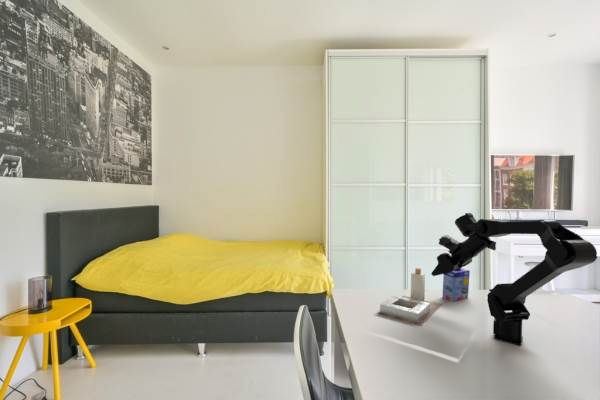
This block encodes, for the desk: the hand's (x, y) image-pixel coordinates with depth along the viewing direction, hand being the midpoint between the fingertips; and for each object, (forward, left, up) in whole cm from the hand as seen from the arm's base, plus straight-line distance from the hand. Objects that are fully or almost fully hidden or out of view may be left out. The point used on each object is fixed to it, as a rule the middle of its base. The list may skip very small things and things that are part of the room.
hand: (437, 272), depth 112 cm
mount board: (+7, +7, -14) cm, 17 cm away
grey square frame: (+7, +12, -13) cm, 19 cm away
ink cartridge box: (-3, -17, -14) cm, 22 cm away
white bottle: (+7, -1, -13) cm, 15 cm away
